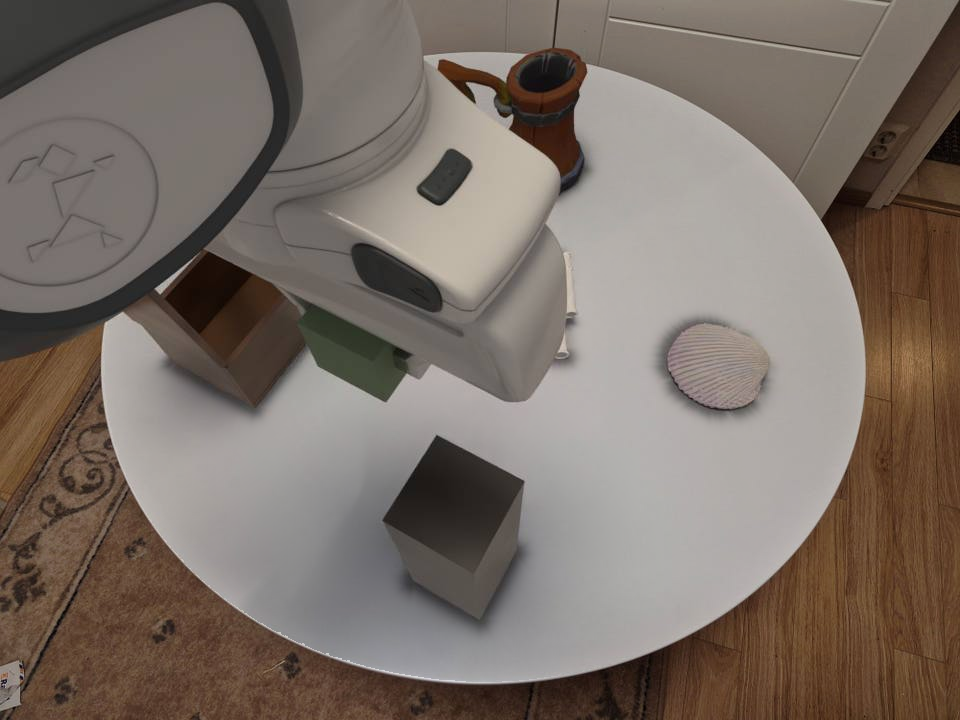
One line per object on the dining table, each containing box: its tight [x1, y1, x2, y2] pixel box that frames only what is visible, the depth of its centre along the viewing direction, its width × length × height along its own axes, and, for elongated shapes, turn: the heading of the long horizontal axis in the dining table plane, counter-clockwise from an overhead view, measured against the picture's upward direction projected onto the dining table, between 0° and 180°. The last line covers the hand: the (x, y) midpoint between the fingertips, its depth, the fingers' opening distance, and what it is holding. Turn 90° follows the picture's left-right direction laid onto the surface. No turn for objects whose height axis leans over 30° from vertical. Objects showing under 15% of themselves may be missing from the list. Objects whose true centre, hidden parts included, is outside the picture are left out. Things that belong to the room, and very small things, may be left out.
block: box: [297, 304, 408, 404], centre depth 35 cm, size 4×4×4 cm
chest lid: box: [122, 288, 227, 369], centre depth 57 cm, size 16×11×4 cm
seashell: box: [666, 322, 772, 410], centre depth 71 cm, size 10×6×10 cm
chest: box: [142, 249, 307, 409], centre depth 72 cm, size 15×11×9 cm
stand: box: [381, 434, 526, 621], centre depth 54 cm, size 7×7×20 cm
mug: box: [436, 47, 588, 192], centre depth 81 cm, size 18×12×15 cm, turn 83°
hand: (370, 340), depth 36 cm, fingers closed on block, 4 cm apart
